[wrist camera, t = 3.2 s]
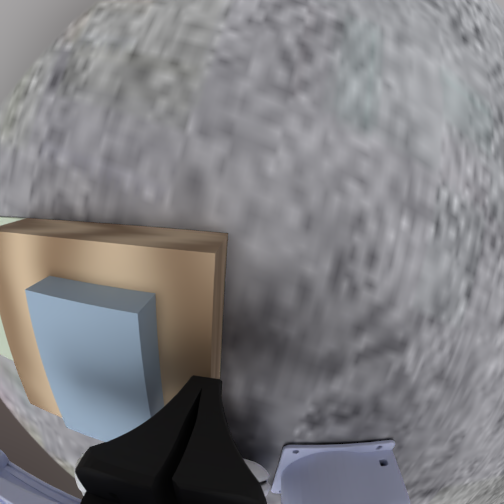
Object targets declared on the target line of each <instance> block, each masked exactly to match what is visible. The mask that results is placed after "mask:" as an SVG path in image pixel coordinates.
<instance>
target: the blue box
mask: <svg viewBox="0 0 504 504" xmlns="http://www.w3.org/2000/svg"><path fill="white" fill-rule="evenodd" d="M25 293H26V298H27V304H28V308H29V313H30V318H31V322H32V326H33V331H34V335H35V338H36V342H37V346H38V349H39V353H40V356H41V360H42V363H43V366H44V369H45V372H46V375H47V378H48V381H49V384H50V387H51V390H52V393H53V395H54V398H55V400H56V403H57V406H58V408H59V411H60V413H61V415H62V418H63V420H64V422H65V425H66V427H67V428H69V429H72V430H74V431H77V432H79V433H82V434H84V435H87V436H90V437H92V438H95V439H98V440H101V441H104V442H107V441H110V440H112V439H115V438H117V437H119V436H121V435H123V434H125V433H127V432H129V431H131V430H133V429H134V428H136V427H138V426H139V425H141V424H142V423H144V422H145V421H147V420H148V419H150V418H151V417H152V416H154V415H155V414H156V413H157V412H158V411H160V410H161V409H162V408H163V407H164V401H163V392H162V383H161V373H160V362H159V350H158V336H157V320H156V297H155V293H150V292H143V291H136V290H129V289H123V288H116V287H110V286H104V285H98V284H92V283H86V282H81V281H75V280H69V279H64V278H59V277H54V276H48V277H46V278H44V279H43V280H41V281H39V282H37V283H36V284H34V285H32V286H30V287H29V288H27V289H25Z"/></svg>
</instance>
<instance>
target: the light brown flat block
mask: <svg viewBox="0 0 504 504" xmlns="http://www.w3.org/2000/svg"><path fill="white" fill-rule="evenodd" d="M227 241H228V233H218V232H207V231H195V230H183V229H171V228H159V227H147V226H134V225H121V224H108V223H94V222H79V221H65V220H49V219H33V218H26V219H22V220H18V221H15V222H11V223H8V224H4V225H1V226H0V316H1V320H2V324H3V328H4V331H5V335H6V338H7V341H8V345H9V348H10V351H11V354H12V357H13V360H14V363H15V366H16V369H17V371H18V374H19V377H20V379H21V382H22V384H23V387H24V389H25V392H26V394H27V397H28V399H29V401H30V403H31V404H33V405H35V406H37V407H39V408H41V409H43V410H46V411H48V412H50V413H52V414H55V415H57V416H59V417H62V415H61V413H60V411H59V408H58V406H57V403H56V400H55V398H54V395H53V393H52V390H51V387H50V384H49V381H48V378H47V375H46V372H45V369H44V366H43V363H42V360H41V356H40V353H39V349H38V346H37V342H36V338H35V335H34V331H33V326H32V322H31V318H30V313H29V308H28V304H27V298H26V293H25V289H27V288H29V287H30V286H32V285H34V284H36V283H37V282H39V281H41V280H43V279H44V278H46V277H48V276H54V277H59V278H64V279H69V280H75V281H81V282H86V283H92V284H98V285H104V286H110V287H116V288H123V289H129V290H136V291H143V292H150V293H155V297H156V320H157V336H158V350H159V362H160V373H161V383H162V392H163V401H164V406H165V405H166V404H167V403H168V402H169V401H170V400H171V399H172V398H173V397H174V396H175V395H176V394H177V393H178V392H179V391H180V390H181V389H182V388H183V386H184V385H185V384H186V383H187V381H188V380H189V379H190V377H191V376H193V375H195V376H201V377H208V378H216V379H220V366H221V344H222V324H223V305H224V288H225V271H226V256H227Z"/></svg>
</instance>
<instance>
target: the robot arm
mask: <svg viewBox="0 0 504 504" xmlns="http://www.w3.org/2000/svg"><path fill="white" fill-rule="evenodd" d="M221 392H222V381H221V380H220V379H216V378H208V377H201V376H195V375H193V376H191V377H190V379H189V380H188V381H187V383H186V384H185V385H184V386H183V388H182V389H181V390H180V391H179V392H178V393H177V394H176V395H175V396H174V397H173V398H172V399H171V400H170V401H169V402H168V403H167V404H166V405H165V406H164V407H163V408H162V409H161V410H160V411H158V412H157V413H156V414H155V415H154V416H152V417H151V418H150V419H148V420H147V421H145V422H144V423H142V424H141V425H139V426H138V427H136V428H134V429H133V430H131V431H129V432H127V433H125V434H123V435H121V436H119V437H117V438H115V439H112V440H110V441H107V442H104V443H101V444H98V445H95V446H91V447H89V449H88V450H87V451H86V452H85V454H84V455H83V456H82V458H81V460H80V462H79V463H78V465H77V467H76V469H75V473H76V475H77V478H78V479H79V481H80V482H81V484H82V485H83V487H84V488H85V490H86V492H85V494H84V496H83V499H82V500H81V499H78V498H76V497H74V496H72V495H69V494H67V493H65V492H63V491H61V490H59V489H57V488H55V487H53V486H51V485H49V484H47V483H46V482H43V481H42V480H40V479H38V478H36V477H34V476H33V475H31V474H29V473H28V472H26V471H24V470H23V469H21V468H20V467H18V466H16V465H15V464H13V463H12V462H10V461H9V460H8V458H7V456H6V455H5V454H4V453H3V451H1V449H0V504H267V502H266V498H265V495H264V492H263V490H262V487H261V484H260V482H259V481H258V480H257V478H256V477H255V476H254V474H253V473H252V472H251V470H250V469H249V467H248V466H247V464H246V463H245V461H244V459H243V458H242V456H241V454H240V452H239V451H238V449H237V447H236V445H235V442H234V440H233V438H232V435H231V433H230V430H229V428H228V425H227V421H226V418H225V414H224V410H223V405H222V398H221ZM394 446H395V442H394V440H384V441H375V442H365V443H352V444H333V445H286V446H284V447H283V450H282V453H281V457H280V460H279V464H278V467H277V471H276V474H275V477H274V481H273V484H272V487H271V492H272V493H281V504H410V499H409V496H408V493H407V490H406V487H405V484H404V481H403V478H402V475H401V473H400V470H399V467H398V464H397V462H396V459H395V456H394V453H393V451H392V449H393V447H394Z"/></svg>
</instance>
